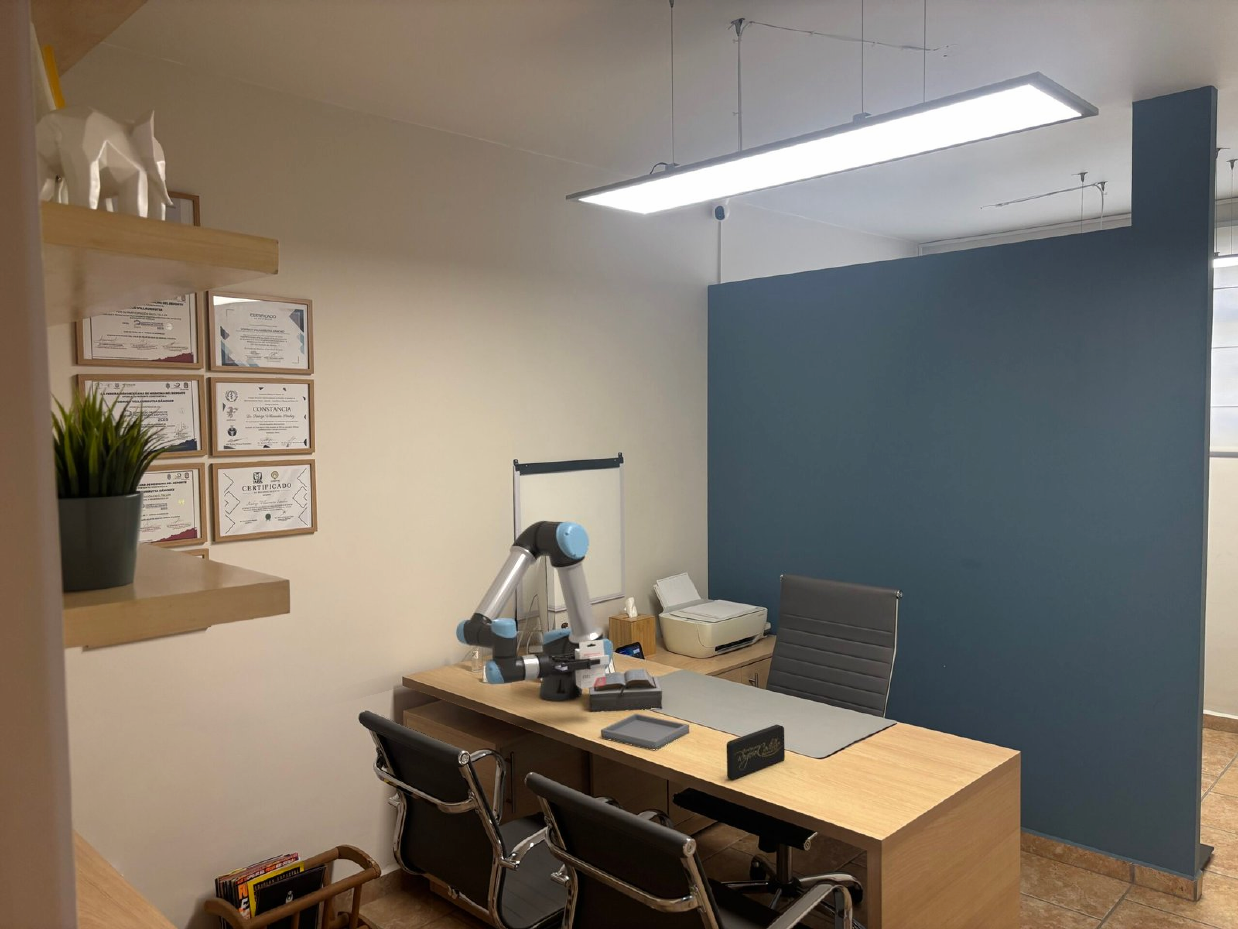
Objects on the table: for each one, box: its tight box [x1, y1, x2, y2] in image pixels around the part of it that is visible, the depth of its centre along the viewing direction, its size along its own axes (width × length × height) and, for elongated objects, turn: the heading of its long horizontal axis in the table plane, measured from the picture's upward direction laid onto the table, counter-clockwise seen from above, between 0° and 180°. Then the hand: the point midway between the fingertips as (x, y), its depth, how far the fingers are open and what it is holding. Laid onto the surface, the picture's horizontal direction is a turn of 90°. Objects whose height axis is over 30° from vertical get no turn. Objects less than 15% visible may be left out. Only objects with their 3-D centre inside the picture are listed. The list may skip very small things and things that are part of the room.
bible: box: [588, 668, 663, 713], centre depth 303 cm, size 23×27×10 cm
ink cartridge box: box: [575, 640, 606, 690], centre depth 283 cm, size 9×5×15 cm, turn 111°
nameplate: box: [726, 724, 786, 781], centre depth 240 cm, size 21×2×10 cm, turn 129°
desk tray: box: [600, 713, 690, 751], centre depth 269 cm, size 18×20×2 cm
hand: (605, 657), depth 285 cm, fingers closed on ink cartridge box, 5 cm apart
